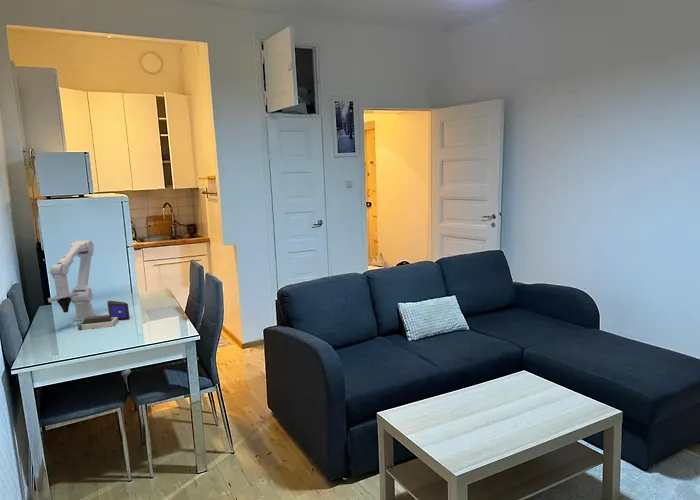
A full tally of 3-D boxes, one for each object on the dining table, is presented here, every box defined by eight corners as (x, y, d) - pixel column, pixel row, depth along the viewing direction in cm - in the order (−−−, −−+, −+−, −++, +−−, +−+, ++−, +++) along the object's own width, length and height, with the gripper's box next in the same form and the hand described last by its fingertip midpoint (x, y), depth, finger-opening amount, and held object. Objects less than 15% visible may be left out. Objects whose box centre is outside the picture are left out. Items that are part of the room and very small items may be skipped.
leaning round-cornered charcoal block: (104, 318, 267) (102, 301, 265) (112, 316, 271) (109, 299, 269) (123, 321, 259) (120, 304, 257) (130, 319, 262) (128, 302, 261)
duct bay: (88, 324, 256) (87, 319, 256) (118, 321, 259) (117, 316, 259) (82, 329, 248) (81, 325, 247) (113, 326, 250) (112, 321, 250)
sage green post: (85, 324, 256) (84, 318, 256) (88, 323, 256) (87, 318, 256) (78, 329, 247) (77, 324, 246) (80, 329, 247) (79, 324, 246)
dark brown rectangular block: (87, 326, 254) (85, 317, 253) (111, 323, 257) (110, 314, 256) (85, 328, 250) (83, 319, 249) (110, 325, 253) (108, 316, 252)
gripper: (71, 283, 257) (75, 307, 260) (43, 289, 245) (47, 315, 247) (79, 284, 254) (82, 308, 256) (50, 290, 242) (54, 316, 244)
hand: (65, 312), depth 252 cm, fingers closed
